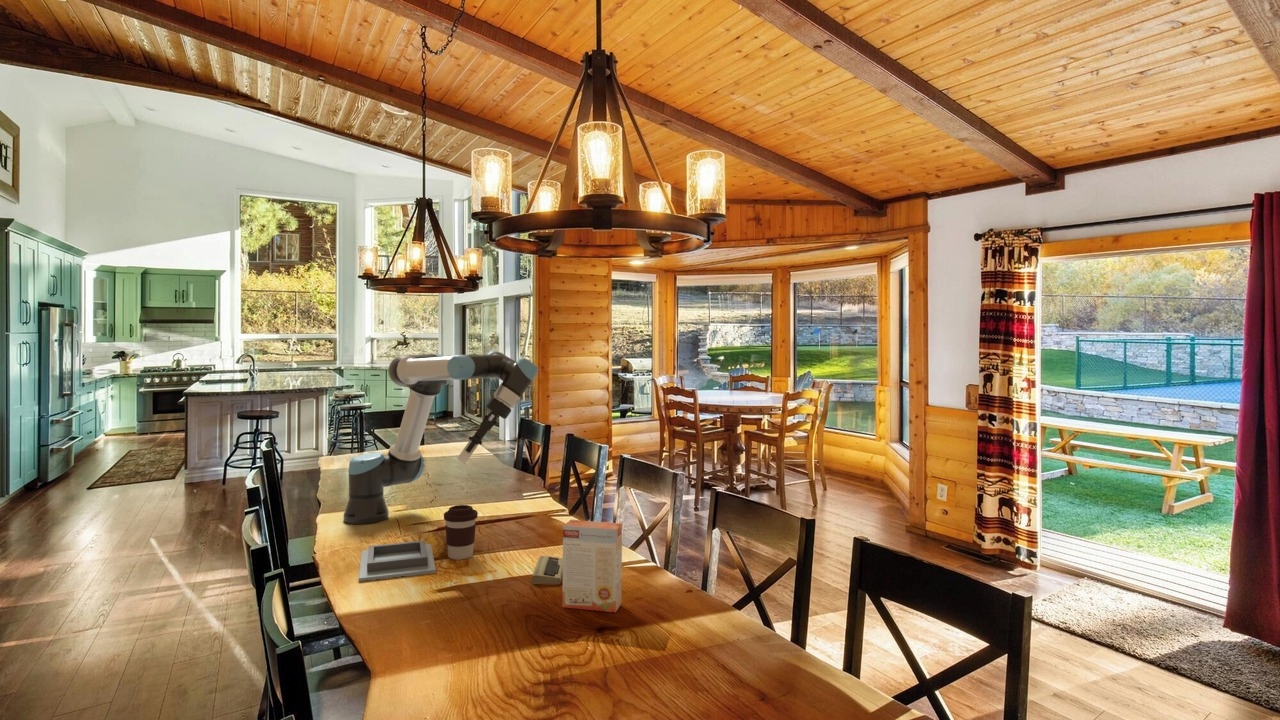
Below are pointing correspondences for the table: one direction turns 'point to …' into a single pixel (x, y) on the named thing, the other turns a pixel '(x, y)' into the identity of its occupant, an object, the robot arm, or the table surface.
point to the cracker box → (592, 565)
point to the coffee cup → (460, 531)
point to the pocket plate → (396, 560)
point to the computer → (548, 570)
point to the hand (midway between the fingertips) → (461, 460)
